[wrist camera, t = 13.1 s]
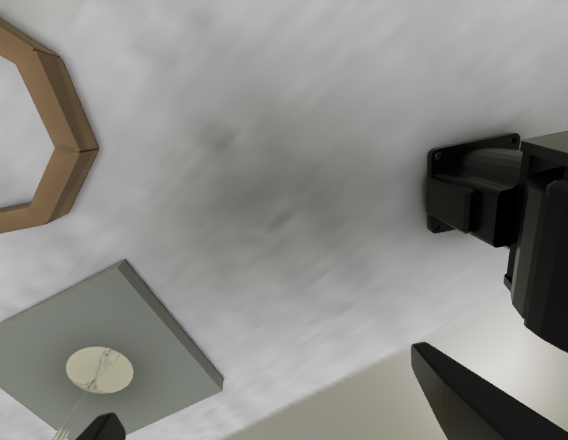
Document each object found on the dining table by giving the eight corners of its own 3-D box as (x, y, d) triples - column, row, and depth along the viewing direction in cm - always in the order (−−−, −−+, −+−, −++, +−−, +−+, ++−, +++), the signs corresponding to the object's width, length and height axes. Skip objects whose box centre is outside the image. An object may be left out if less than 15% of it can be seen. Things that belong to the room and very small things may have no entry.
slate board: (124, 259, 20) (116, 268, 19) (223, 378, 25) (222, 390, 24) (-31, 339, 21) (-48, 351, 20) (93, 439, 26) (86, 453, 25)
